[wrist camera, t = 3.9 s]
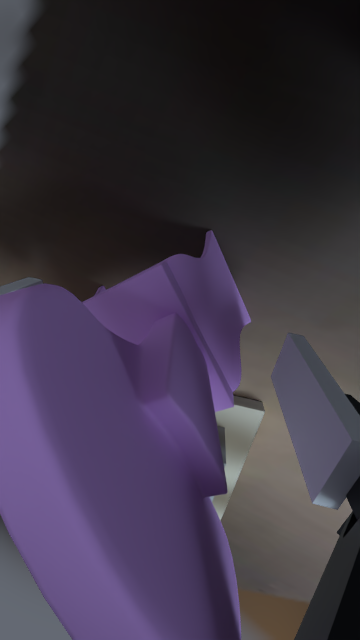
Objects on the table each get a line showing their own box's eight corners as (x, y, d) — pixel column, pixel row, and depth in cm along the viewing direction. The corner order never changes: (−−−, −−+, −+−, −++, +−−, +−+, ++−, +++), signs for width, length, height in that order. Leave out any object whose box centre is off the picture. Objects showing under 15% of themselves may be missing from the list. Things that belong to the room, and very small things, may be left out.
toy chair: (85, 276, 17) (-476, 540, 3) (204, 212, 14) (-42, 181, 1) (145, 374, 19) (-32, 762, 6) (256, 333, 17) (428, 856, 3)
